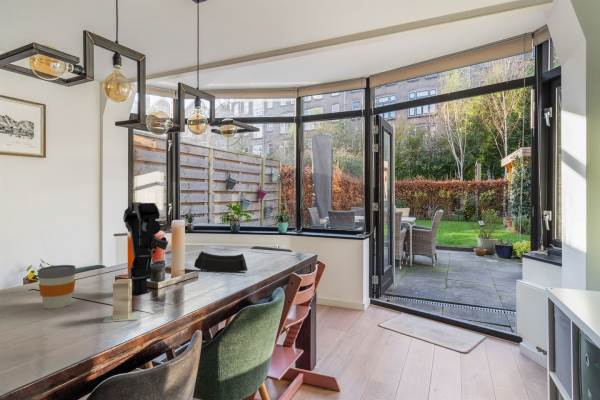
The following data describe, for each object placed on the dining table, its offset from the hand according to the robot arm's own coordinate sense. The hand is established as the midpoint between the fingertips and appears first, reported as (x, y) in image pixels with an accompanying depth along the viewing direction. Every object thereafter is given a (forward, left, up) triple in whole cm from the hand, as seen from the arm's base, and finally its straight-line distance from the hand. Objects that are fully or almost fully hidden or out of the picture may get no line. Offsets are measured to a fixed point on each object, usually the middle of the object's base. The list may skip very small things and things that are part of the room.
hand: (146, 269), depth 148 cm
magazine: (-12, +57, -13) cm, 60 cm away
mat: (+11, -18, -13) cm, 25 cm away
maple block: (+11, -18, -13) cm, 25 cm away
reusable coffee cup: (-24, -23, -13) cm, 36 cm away
